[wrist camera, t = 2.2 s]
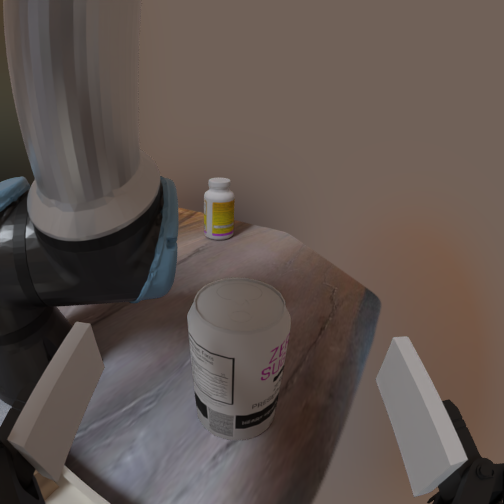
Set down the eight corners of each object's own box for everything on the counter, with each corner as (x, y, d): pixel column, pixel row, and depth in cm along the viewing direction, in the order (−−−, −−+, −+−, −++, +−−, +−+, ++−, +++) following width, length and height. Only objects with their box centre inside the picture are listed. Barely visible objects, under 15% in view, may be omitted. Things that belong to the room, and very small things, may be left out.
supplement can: (199, 383, 34) (192, 272, 27) (270, 384, 34) (286, 274, 28) (194, 442, 27) (178, 334, 20) (277, 442, 27) (302, 336, 20)
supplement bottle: (239, 235, 72) (241, 180, 67) (219, 243, 68) (220, 185, 62) (218, 227, 76) (219, 175, 70) (198, 234, 71) (197, 179, 65)
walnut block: (12, 482, 16) (-9, 464, 14) (35, 461, 19) (16, 442, 18) (35, 509, 15) (13, 494, 13) (59, 486, 18) (40, 469, 16)
